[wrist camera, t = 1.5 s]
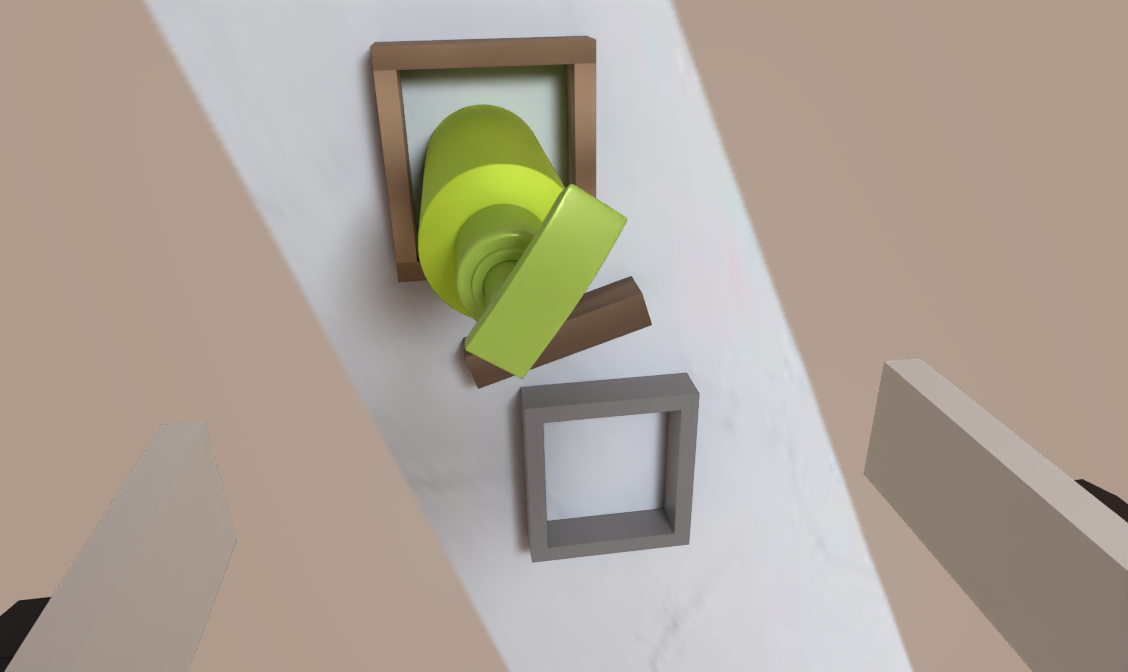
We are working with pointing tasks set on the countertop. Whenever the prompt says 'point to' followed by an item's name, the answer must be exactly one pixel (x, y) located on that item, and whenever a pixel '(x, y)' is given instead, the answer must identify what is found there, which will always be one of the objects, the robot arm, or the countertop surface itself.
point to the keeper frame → (607, 402)
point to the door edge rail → (581, 328)
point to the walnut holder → (465, 55)
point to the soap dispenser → (507, 234)
